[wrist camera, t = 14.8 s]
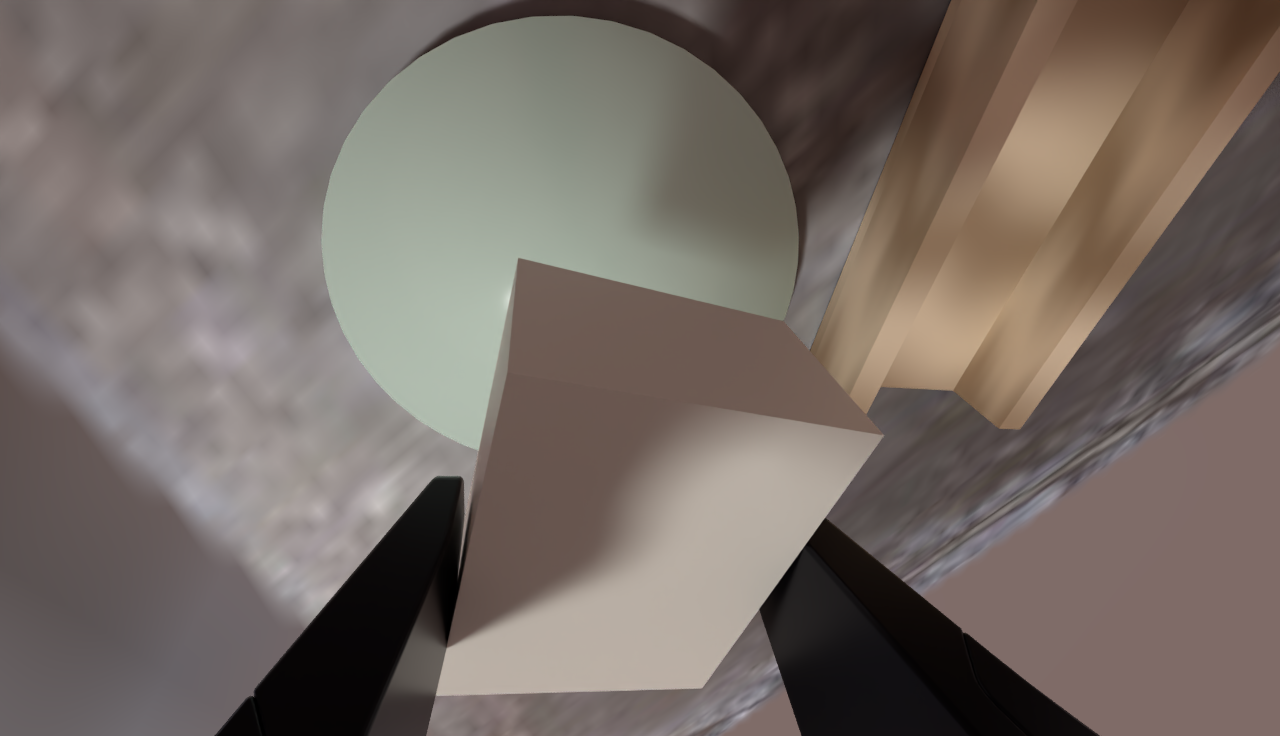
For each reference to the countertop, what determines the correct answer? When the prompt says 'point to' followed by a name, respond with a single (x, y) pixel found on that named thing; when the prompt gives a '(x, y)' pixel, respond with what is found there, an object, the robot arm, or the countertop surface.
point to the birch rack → (1035, 187)
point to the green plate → (543, 198)
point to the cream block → (637, 487)
